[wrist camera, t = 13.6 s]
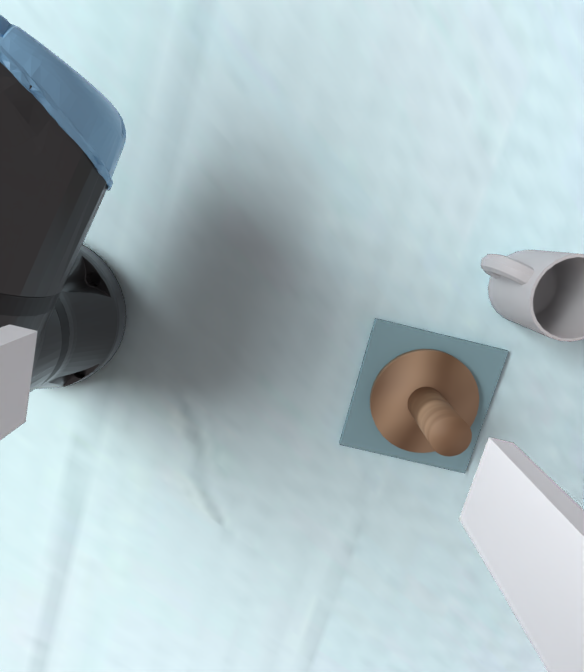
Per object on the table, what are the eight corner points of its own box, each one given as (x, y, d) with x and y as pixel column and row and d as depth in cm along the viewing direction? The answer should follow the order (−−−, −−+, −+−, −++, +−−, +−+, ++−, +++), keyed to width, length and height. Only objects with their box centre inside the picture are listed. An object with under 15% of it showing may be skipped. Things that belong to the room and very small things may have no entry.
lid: (357, 436, 50) (371, 480, 41) (386, 338, 48) (407, 362, 39) (456, 458, 51) (491, 506, 42) (489, 362, 48) (533, 391, 39)
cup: (531, 333, 48) (584, 356, 40) (448, 288, 47) (483, 301, 39) (572, 270, 47) (636, 279, 38) (487, 222, 46) (533, 220, 37)
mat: (339, 442, 51) (339, 444, 50) (375, 318, 48) (376, 319, 47) (463, 470, 52) (465, 473, 51) (506, 350, 49) (508, 351, 48)
